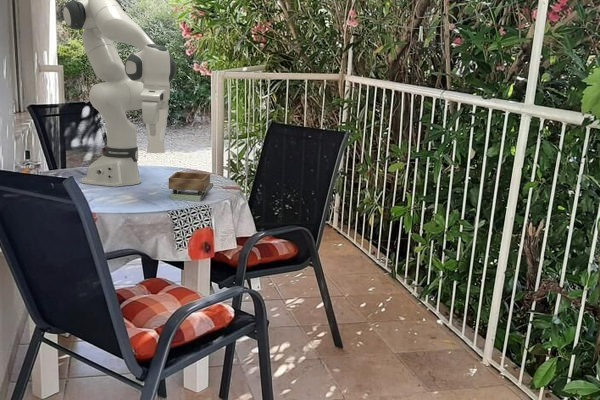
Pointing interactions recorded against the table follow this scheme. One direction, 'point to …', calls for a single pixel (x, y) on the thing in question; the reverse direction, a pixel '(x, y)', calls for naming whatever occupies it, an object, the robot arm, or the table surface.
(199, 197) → the track
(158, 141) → the beer glass
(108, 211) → the table surface
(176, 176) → the tray
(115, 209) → the table surface
